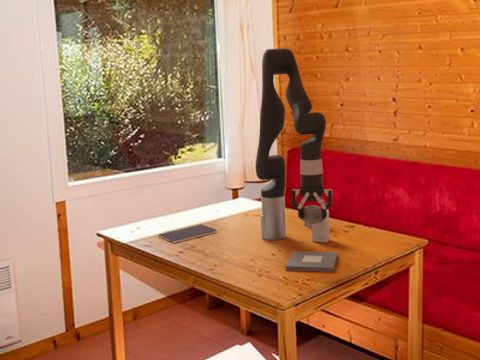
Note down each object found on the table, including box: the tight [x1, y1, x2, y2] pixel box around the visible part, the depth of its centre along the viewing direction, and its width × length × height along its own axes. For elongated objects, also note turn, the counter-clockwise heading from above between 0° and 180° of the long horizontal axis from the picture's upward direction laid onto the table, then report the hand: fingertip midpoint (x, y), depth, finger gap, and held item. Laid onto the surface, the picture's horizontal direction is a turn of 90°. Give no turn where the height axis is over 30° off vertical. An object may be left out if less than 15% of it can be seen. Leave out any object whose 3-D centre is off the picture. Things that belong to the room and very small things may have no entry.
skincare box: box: [311, 209, 331, 243], centre depth 234 cm, size 6×4×12 cm
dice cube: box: [302, 204, 323, 224], centre depth 207 cm, size 5×5×5 cm
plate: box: [285, 250, 339, 273], centre depth 210 cm, size 16×16×2 cm
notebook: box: [158, 224, 217, 244], centre depth 253 cm, size 13×2×21 cm
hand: (312, 218), depth 207 cm, fingers closed on dice cube, 7 cm apart
